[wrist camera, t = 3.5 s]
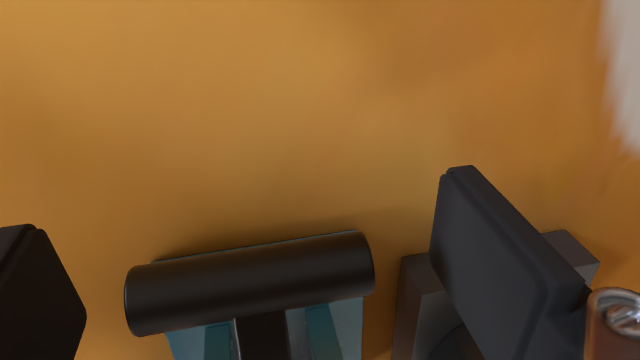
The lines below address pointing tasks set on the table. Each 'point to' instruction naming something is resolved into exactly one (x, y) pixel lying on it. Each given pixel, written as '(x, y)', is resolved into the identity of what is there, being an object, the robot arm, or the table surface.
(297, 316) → the bracket
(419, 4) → the table surface
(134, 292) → the lever
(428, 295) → the control block
